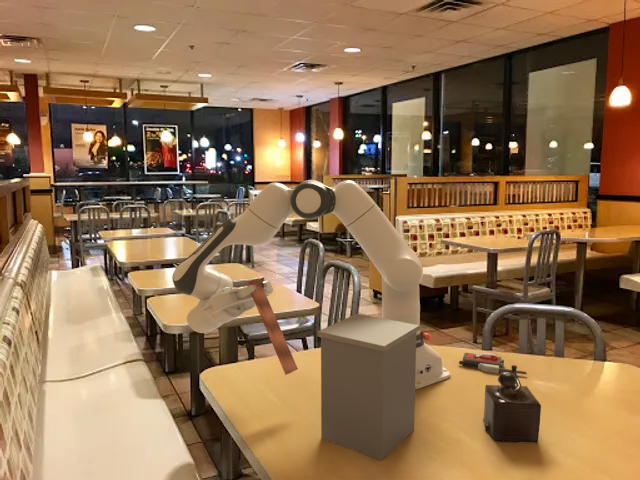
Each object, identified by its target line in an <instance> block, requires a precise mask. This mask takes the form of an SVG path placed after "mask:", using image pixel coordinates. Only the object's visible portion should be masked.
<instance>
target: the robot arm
mask: <svg viewBox="0 0 640 480" xmlns="http://www.w3.org/2000/svg"><path fill="white" fill-rule="evenodd" d="M294 214H295V215H297V217H299V218H302V219H303V220H315V219H319V218H321V217H324V216H326V215H328V214H333V215H335V217H336V218H337V219H339V221H340V222H341V223H342V224H343V227H345V228H346V230H348V232H349V234H350V235H351V236H352V237H353V238H354V240H355V241H356V242H357V243H358V245H359V246H360V247H361V249H362V251H364V253H365V254H366V256H367V258H368V259H369V260H370V262H371V263H372V264H373V266H374V267H375V269H376V270H377V271H378V273H379V274H380V276H381V318H383V319H388V320H393V321H399V322H404V323H409V324H414V325H419V326H420V322H421V319H420V318H421V317H420V316H421V315H420V312H421V304H420V303H421V302H420V284H421V281H422V279H423V275H424V268H423V265H422V263H421V261H420V259H419V257H418V255H417V253H416V252H415V250H413V249H412V248H411V247H410V246H409V245H408V244H407V242H406V240H404V238H403V237H402V236H401V235H400V233H399V231H398V230H397V229H396V228H395V226H394V225H393V223H392V222H391V221H390V220H389V218H388V217H387V216H386V215H385V213H384V212H383V211H382V210H381V208H380V207H379V206H378V204H377V203H376V202H375V200H374V199H373V198H372V197H371V196H370V195H369V193H367V191H365V190H364V189H363V188H362V187H361V186H360V185H359V184H358V183H357V182H355V181H353V180H349V179H346V180H343V181H340V182H338V183H337V184H336V185H334V186H331V187H329V186H327V185H325V184H324V182H320V181H319V180H315V179H308V180H304V181H302V182H300V183H299V184H297V185H296V186H295V187H293V188H289V187H288V186H286V185H285V184H283V183H281V182H277V181H276V182H271V183H268V184H267V185H266V186H265V187H264V188H263V189H262V190H260V192H259V193H258V194H257V195H256V196H255V198H254V199H253V200H252V201H251V203H250V204H249V205H248V207H247V208H246V209H245V210H244V211H243V212H242V213H240V215H238V216H235V217H234V218H228V219H226V220H225V221H223V222H222V223H220V225H218V227H216V228H215V230H213V232H211V233H210V234H209V235H208V237H206V238H205V240H204V241H202V243H201V244H200V245H199V246H198V247H197V248H196V249H195V250H193V252H192V253H191V254H190V255H189V256H188V257H187V258H185V259H184V260H183V261H181V262H180V263H179V264H178V265H177V267H175V269H174V271H173V273H172V276H171V277H172V279H171V280H172V283H173V285H174V288H175V290H176V291H177V292H178V293H180V294H183V295H187V296H191V297H193V298H196V299H198V300H199V301H198V303H197V304H196V306H194V307H193V308H192V309H191V310H189V312H188V313H187V315H186V323H187V324H188V326H189V328H190V329H191V330H193V331H195V332H196V333H198V334H199V333H200V334H205V333H210V332H211V331H215V330H216V329H218V328H219V327H221V326H223V324H226V323H230V322H231V321H233V320H235V319H237V318H238V317H240V316H242V315H243V313H245V312H247V311H250V310H251V309H253V308H255V307H256V304H255V302H254V300H253V297H252V295H251V293H253V292H255V291H256V290H257V288H256V286H255V285H254V284H253V285H250V286H247V285H246V286H242V287H235V283H234V280H233V278H232V277H230V276H229V275H226V274H224V273H222V272H220V271H218V270H215V269H214V268H211V267H209V266H207V265H208V264H209V262H211V260H212V259H213V258H214V257H215V256H216V255H217V254H218V253H219V252H220V251H221V250H223V248H225V247H227V246H231V245H245V246H252V247H254V246H262V245H265V244H268V243H269V242H270V241H271V240H273V238H274V237H275V236H276V234H277V233H278V231H279V230H280V229H281V227H282V226H283V224H284V223H285V221H286V220H287V219H288V218H289V217H290V216H291V215H294ZM260 282H261V284H262V287H263V289H264V291H265V294H266V296H267V297H268V296H270V295H272V293H273V292H274V288H273V286H272V284H271V282H270V280H265V281H260ZM431 339H432V335H431V334H430V333H428V332H423V331H421V330H419V331H418V332H416V371H415V390H420V389H422V388H425V387H426V386H430V385H433V384H435V383H439V382H441V381H444V380H447V379H450V378H451V373H450V371H449V370H448V369H447V368H446V367H444V365H443V360H442V356H440V353H438V352H437V351H436V350H434V348H432V347H430V346H429V344H426V343H425V341H427V342H429V341H430V340H431ZM424 340H425V341H424Z"/></svg>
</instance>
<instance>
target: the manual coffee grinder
mask: <svg viewBox="0 0 640 480" xmlns="http://www.w3.org/2000/svg"><path fill="white" fill-rule="evenodd" d="M510 370H511V372H499V374H498V375H499V376H498V378H497V382H498V383H499V384H500V385H499V384H486V385H485V387H484V404H483V405H484V408H483V419H482V421H483V423H484V428H485V430H486V432H488V434H489V435H490V437H491V438H492V439H493V440H494V441H496V442H502V443H518V442H534V443H538V442H539V433H540V423H541V415H542V414H541V412H542V404H541V403H540V401H538V399H537V397H536V396H535V395H534V394H533V393H532V391H531V390H530V389H529V388H528V386H527V385H526V386H525V385H522V384H521V381H520V379H519V376H518V373H516V372H517V371H518V367H517V365H515V364H512V365H511V369H510ZM516 370H517V371H516Z"/></svg>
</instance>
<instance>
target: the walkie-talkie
mask: <svg viewBox="0 0 640 480" xmlns="http://www.w3.org/2000/svg"><path fill="white" fill-rule="evenodd" d="M504 362H505V360H504V359H502V357H501V356H498V354H497V353H493V352H488V351H487V352H485V351H484V352H481V353H479V354H478V353H477V352H476V351H473V353H472V352H471V353H470V352H464V353H463V357H462V360H459V361H458V364H459V365H461V366H463V367H464V368H471V369H478V370H480V371H482V372H485V373H492V374H496V375H497V374H498V375H499V374H500V373H503V372H511V370H512V369H508V368H503V367H504V366H505V365H504V364H505V363H504ZM516 371H517V372H516V373H517V374H521V375H527V374H528V372H526V371H525V370H518V369H516Z"/></svg>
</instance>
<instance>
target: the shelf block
mask: <svg viewBox="0 0 640 480" xmlns="http://www.w3.org/2000/svg"><path fill="white" fill-rule="evenodd" d="M418 331H420V324H419V325H414V324H409V323H404V322H399V321H393V320H388V319H383V318H382V317H378V316H372V315H368V314H367V315H366V314H360V313H355V314H354V315H351V316H348V317H346V318H345V319H342V320H340V321H337V322H336V323H332V324H331V325H328V326H327V327H324V328H322V329H319V330H317V337H319V338H320V386H321V387H320V389H321V391H320V399H321V400H320V401H321V402H320V405H321V406H320V407H321V408H320V413H321V415H320V418H321V419H320V420H321V421H320V422H321V426H320V427H321V429H320V431H321V432H320V435H321V439H322V440H324V441H327V442H330V443H332V444H335V445H338V446H341V447H344V448H346V449H349V450H352V451H353V452H357V453H360V454H363V455H365V456H368V457H371V458H374V459H377V460H379V461H383V460H384V459H385V458H386V457H388V455H389V454H391V453H392V452H393V451H394V449H396V448H397V447H398V446H399V445H400V444H401V443H403V442H404V440H406V438H407V437H408V436H410V434H411V433H413V431H415V408H416V407H415V406H416V389H415V371H416V332H418Z"/></svg>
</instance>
